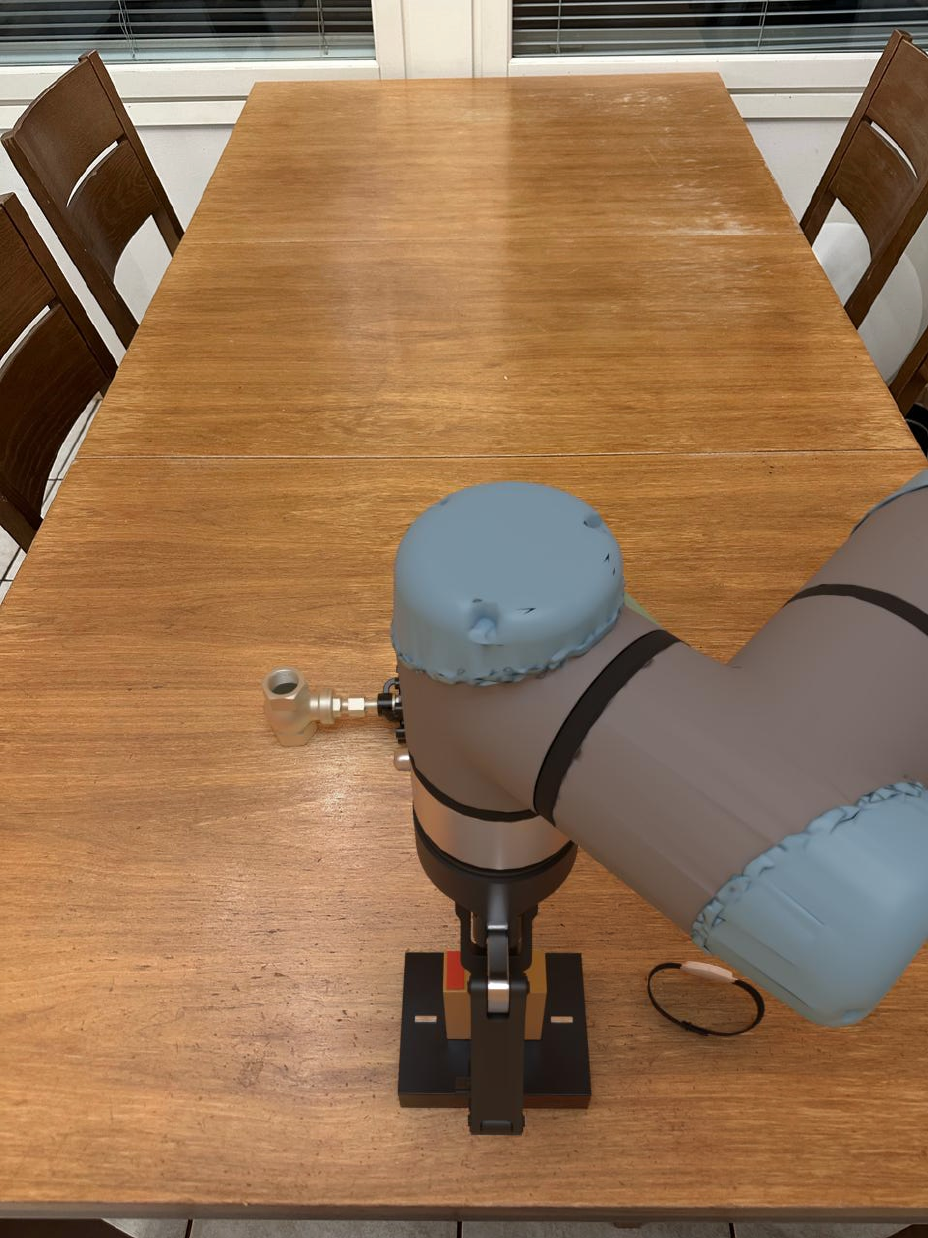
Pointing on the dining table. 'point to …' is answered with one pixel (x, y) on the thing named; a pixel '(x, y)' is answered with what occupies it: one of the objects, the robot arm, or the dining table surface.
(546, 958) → the plate
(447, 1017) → the lock knob
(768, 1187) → the dining table surface
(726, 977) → the watch
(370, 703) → the valve
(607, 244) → the dining table surface
